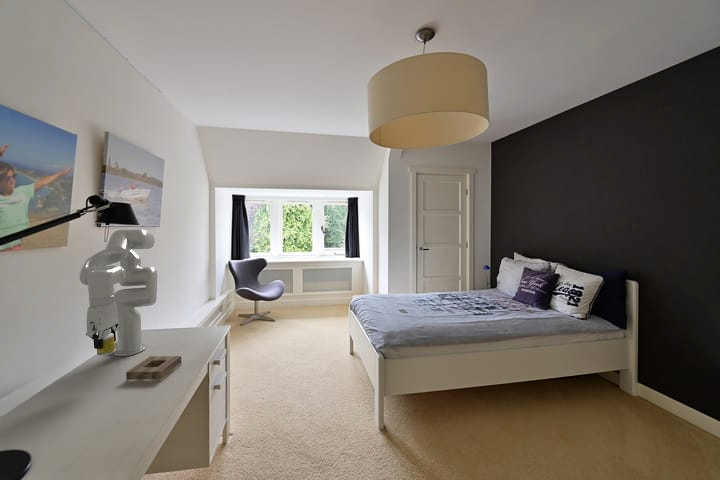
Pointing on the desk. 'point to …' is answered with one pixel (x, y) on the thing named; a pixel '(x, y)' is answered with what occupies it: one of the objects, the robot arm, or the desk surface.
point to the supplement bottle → (107, 343)
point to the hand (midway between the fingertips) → (105, 344)
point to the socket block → (153, 368)
